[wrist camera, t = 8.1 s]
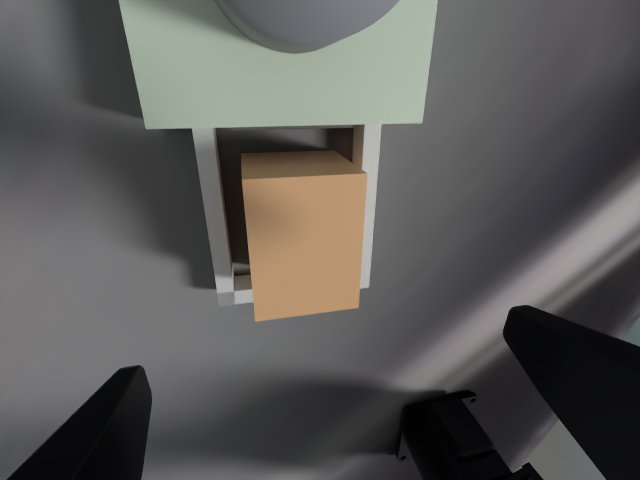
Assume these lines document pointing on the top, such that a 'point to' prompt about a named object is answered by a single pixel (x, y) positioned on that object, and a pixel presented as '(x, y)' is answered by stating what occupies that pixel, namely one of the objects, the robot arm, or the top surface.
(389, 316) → the top surface
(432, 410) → the robot arm
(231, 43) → the pale green framed piece
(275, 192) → the tan parcel box
